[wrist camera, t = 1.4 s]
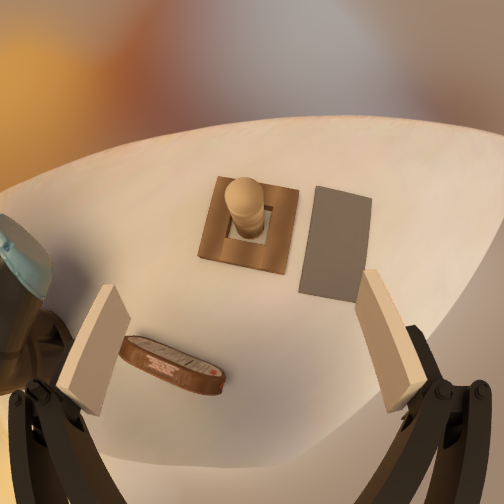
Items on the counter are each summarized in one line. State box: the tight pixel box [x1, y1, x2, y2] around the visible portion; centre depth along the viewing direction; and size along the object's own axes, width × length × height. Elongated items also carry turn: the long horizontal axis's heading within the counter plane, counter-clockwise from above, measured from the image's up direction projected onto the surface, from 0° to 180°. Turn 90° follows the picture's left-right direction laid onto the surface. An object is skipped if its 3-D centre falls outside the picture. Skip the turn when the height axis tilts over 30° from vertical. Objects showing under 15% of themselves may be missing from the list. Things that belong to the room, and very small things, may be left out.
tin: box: [118, 336, 226, 396], centre depth 33 cm, size 15×3×8 cm, turn 72°
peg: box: [225, 177, 264, 239], centre depth 34 cm, size 4×4×12 cm
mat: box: [298, 186, 372, 303], centre depth 39 cm, size 9×16×1 cm, turn 168°
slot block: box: [197, 176, 299, 275], centre depth 39 cm, size 12×12×2 cm
